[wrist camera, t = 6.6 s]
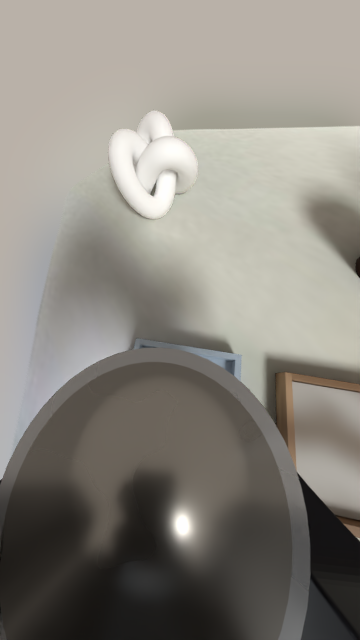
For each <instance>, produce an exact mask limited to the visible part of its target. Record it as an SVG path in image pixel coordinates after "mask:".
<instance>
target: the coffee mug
mask: <svg viewBox="0 0 360 640" xmlns="http://www.w3.org/2000/svg"><path fill="white" fill-rule="evenodd" d="M355 267H356V272H357V274H358V276H359V277H360V257H359V258H358V259H357V261H356V266H355Z"/></svg>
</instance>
